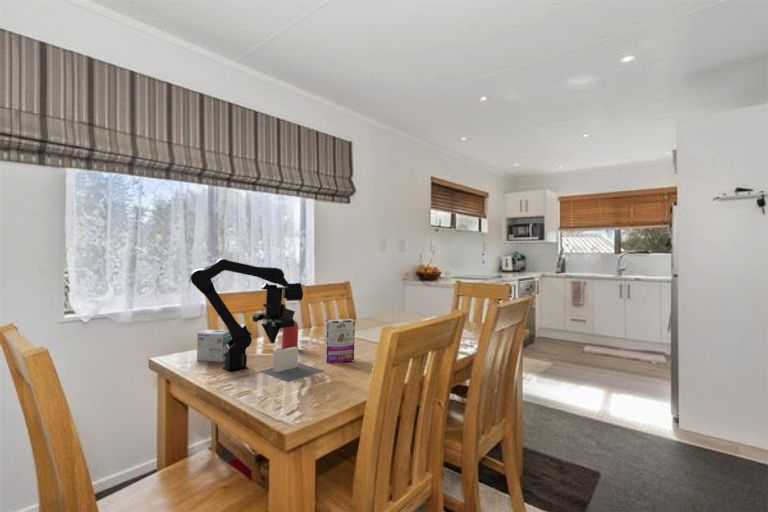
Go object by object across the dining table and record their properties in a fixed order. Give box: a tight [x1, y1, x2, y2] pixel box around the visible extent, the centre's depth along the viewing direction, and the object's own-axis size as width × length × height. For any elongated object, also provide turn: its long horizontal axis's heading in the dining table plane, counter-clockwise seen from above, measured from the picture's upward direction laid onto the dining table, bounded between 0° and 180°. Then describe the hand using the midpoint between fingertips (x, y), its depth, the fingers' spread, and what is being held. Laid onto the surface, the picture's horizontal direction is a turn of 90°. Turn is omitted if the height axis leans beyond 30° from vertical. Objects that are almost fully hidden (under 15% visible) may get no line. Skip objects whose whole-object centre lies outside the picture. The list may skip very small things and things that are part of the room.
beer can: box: [281, 320, 299, 350], centre depth 164 cm, size 7×7×12 cm
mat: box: [259, 362, 325, 383], centre depth 135 cm, size 16×16×1 cm
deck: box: [272, 347, 299, 372], centre depth 137 cm, size 9×2×7 cm, turn 141°
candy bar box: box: [323, 318, 356, 364], centre depth 150 cm, size 11×5×16 cm, turn 112°
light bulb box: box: [196, 329, 232, 363], centre depth 147 cm, size 11×7×11 cm, turn 84°
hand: (272, 342), depth 142 cm, fingers closed
